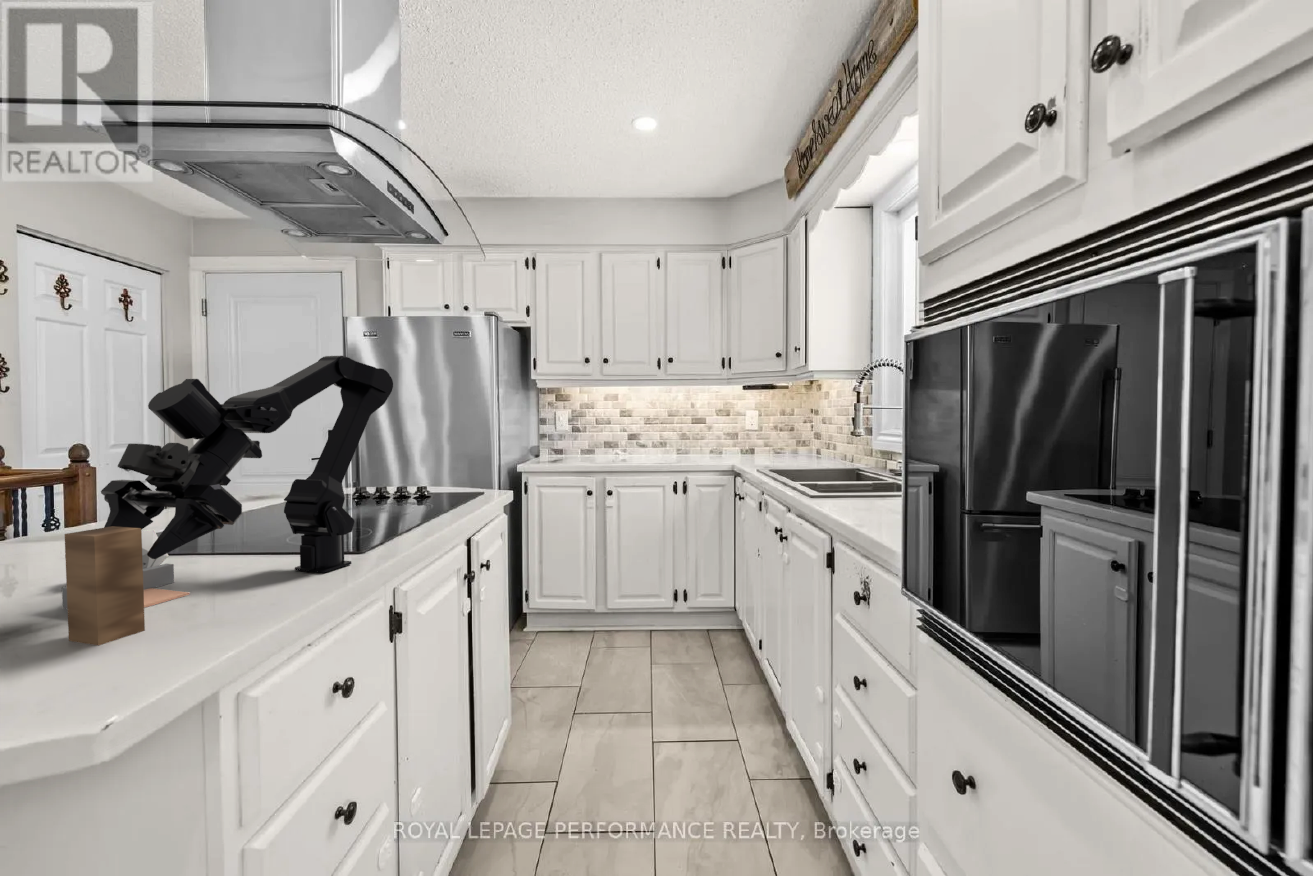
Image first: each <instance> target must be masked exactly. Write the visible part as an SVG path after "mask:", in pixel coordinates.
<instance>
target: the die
mask: <svg viewBox="0 0 1313 876" xmlns="http://www.w3.org/2000/svg"><path fill="white" fill-rule="evenodd" d="M141 532H142V561H143V569H145V568H149V567H154V566H158V565H162V564H163V562H164V561H166V560H167V558H169V554H168V553H167V554H165V555H163V556H161V557H159V558H157V559H151V558H150V557H149V556H147V553H148V552H149V550H150V548H151V547H152V545H153V544H154V543H155V541H156V540H157V539H158V537H159V536H158V535H157V533H156V531H155V529H148V530H147V529H146V530H145V529H142V530H141Z"/></svg>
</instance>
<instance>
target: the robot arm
mask: <svg viewBox="0 0 1313 876" xmlns="http://www.w3.org/2000/svg"><path fill="white" fill-rule="evenodd" d="M333 385H334V386H335V387H337V388H339V389H340V397H341V403H342V407H341V410H340V411H339V414H338V416H337V418H336V421H335V423H334V425H333V427H332V429H331V432H330V434H329V436H328V439H327V440H326V442H325V445H324V447H323V449H322V451H321V454H320V455H319V458H318V459H317V463H316V465H315V467H314V468H313V471H312V473H311V474H310V475H309V476H308V477H306V479H302V478H295V479H294V481H293V482H292V484H291V487H290V490H289V492H288V494H287V495H286V497H285V498H283V501H284V502H285V504H284V507H283V513H284V514H285V517H286V520H287V521H288V524H289V527H290V530H291V532H292V534H293V535H301V536H300V539H301V543H300V545H299V561H300V563H299V565H298V566H295V567H294V571H299V572H300V571H301V572H311V573H322V574H323V573H327V572H331V571H333V570H337V569H340V568H343V567H346V566H349V565H352V561H351V560H345V535H347V534H348V533H353V529H354V526H355V519H354V518H353V517H352V516H351V514H349V513H348V512H347V511H346V510H345V509H344V508H343V507H344V503H345V499H346V497H345V492H344V488H343V482H344V479H345V476H346V474H347V471H348V470H349V466H350V464H351V462H352V460H353V457H354V455H355V453H356V451H357V447H358V445H359V443H360V441H361V439H362V436H363V433H364V431H365V429H366V426H367V424H368V422H369V420H370V418H371V415H372V414H373V413H375V412H376V411H377V410H379V409H380V408H381V407H382V406H384V405H385V403H386V402H387V400H388V399H389V397H390V395H391V394H392V392H393V390H394V389H393V388H394V381H393V378H392V377H391V375H390V373H389V372H388V371H387V370H386V369H384V368H380V367H379V368H378V367H375V366H372V365H369V364H365V363H363V362H360V361H356V360H354V359H353V358H350V357H348V356H346V355H325V356H323V357H321V358H319V359H318V360H317V361H316V362H314V363H312V364H311V365H308V366H307V367H305V368H303V369H302V370H299V371H298V372H296V373H294V374H292V375H290V376H289V377H286V378H284V379H283V380H281V381H280V382H278V383H276V384H273V385H272V386H270V387H268V386H267V387H265V388H262V389H261V388H260V389H257V390H251V391H247V392H244V393H241V394H237V395H235V396H234V395H233V396H232V397H229V398H228V399H227V400H225V401H224V403H222V404H221V403H220V402H219V401H218V400H217V399H216V398H215V396H213V395H212V394H211V393H210V391H208V389H207V388H206V387H205V385H204V383H202V381H201V380H200V379H199V378H185V380H183V381H182V382H181V383H179V384H175V385H173V386H171V387H168V388H167V389H165V390H163V391H161V392H158V393H157V394H155V395H154V396H153V397H152V398H151V399H150V401H149V403H148V405H147V407H148V409H149V410H150V411H151V412H152V413H153V414H154V415H155V416H156V417H158V418H159V420H160V421H162V422H163V423H164V424H165V425H166V426H167V427H168V428H169V429H171V430H172V432H174V433H175V434H176V435H177V436H178V437H179V438H180V439H182V440H191V439H194V440H197V441H196V442H195V444H193V445H192V446H191V448H190V449H189V446H187V445H185V444H183V443H180V442H167V443H166V444H165V445H164V446H161V445H153V444H148V443H128V444H127V446H126V448H125V450H124V452H123V454H122V456H121V458H120V459H119V462H118V464H117V468H119V469H121V470H124V471H125V470H129V471H131V472H132V471H133V472H136V473H137V474H138V473H139V474H142V475H144V476H147V477H146V478H145V481H146V482H147V483H148V484H149V485H151V486H153V487H156V488H155V490H152V489H151V488H150V487H148V485H146V484H145V483H144V482H142V481H141V480H140V479H139V480H134V479H115V480H110V482H108V484H106V485H105V486H104V487H103V488H102V489H101V490H100V494H102V495H103V498H104V499H103V500H104V501H105V502H107V503H108V507H109V514H108V517H107V520H106V522H105V525H104V527H103V528H105V527H111V526H116V527H129V528H141V531H142V530H144V529H145V528H146V527H148V526H150V525H151V524H152V523H154V520H152V519H154V518H156V517H157V516H160V514H162V512H163V511H164V510H165V508H175V511H174V516H173V517H172V518H171V520H170V521H169V523H168V524H167V525H166V526H165V528H164V529H163V531H162V532H161V533H160V534H159V536H158V539H157V540H156V541H155V543H154V544H153V545H152V547H151V548H150V550H149V552H148V553H147V556H149V557H150V558H151V559H157V558H159V557H161V556H163V555H165V554H168V553H170V552H173V551H174V550H176V549H178V548H180V547H182V546H185V545H186V544H189V543H190V542H193V541H194V540H196V539H198V538H200V537H203V536H205V535H207V534H209V533H212V532H214V531H215V530H221V529H223V528H224V527H225V525H228V526H234V524H235V523H236V522H237V521H238V519H239V518H240V517H241V516H242V515H243V504H242V503H241V502H240V501H239V500H237V498H235V496H234V495H232V494H231V493H230V492H229V491H228V490H227V489H225V486H228V485H229V484H230V482H231V481H232V480H231V479H230V478H229V477H228V475H229V474H230V473H231V471H232V470H233V469H234V468H235V467H236V465H238V464H239V462H241V460H242V459H261V458H262V457H263V452H262V451H263V450H262V449H261V448H260V447H261V446H260V443H261V441H259V440H252V439H251V438H250V437H249V436H248V435H247V434H272V433H274V432H276V431H277V430H279V428H281V427H282V426H283V425H284V424H285V423H286V422H287V421H288V420H290V418H291V417H292V414H293V411H294V410H295V409H296V408H297V407H298V406H300V405H301V404H303V403H304V402H306V401H308V400H310V399H311V398H313V397H314V396H316V395H318V394H321V392H322V391H323V392H324V390H326V389H328V388H329V387H331V386H333ZM223 486H224V487H223Z"/></svg>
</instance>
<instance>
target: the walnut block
mask: <svg viewBox="0 0 1313 876" xmlns="http://www.w3.org/2000/svg"><path fill="white" fill-rule="evenodd" d="M141 531H142V530H141V528H129V527H116V526H111V527H105V528H104V527H100V528H94V529H93V528H92V529H86V530H82V531H74V532H70V533H69V532H68V533H64V552H65V553H64V554H65V576H66V577H65V578H66V579H65V581H66V583H65V584H66V587H67V608H68V610H67V629H68V642H72V643H73V642H74V643H81V644H87V645H91V646H92V645H93V646H101V645H104V644H107V643H110V642H113V641H116V640H119V639H122V638H126V637H128V636H132V635H135V634H138V633H139V634H140V633H141V632H145V631H146V625H145V622H146V621H145V608H144V590H143V561H142V532H141Z"/></svg>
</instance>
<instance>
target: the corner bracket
mask: <svg viewBox="0 0 1313 876" xmlns="http://www.w3.org/2000/svg"><path fill="white" fill-rule="evenodd" d="M174 567H175V565H174V564H173V563H161V564H160V565H158V566H154V567H149V568H145V569H143V590H145V589H149V588H153V589H156V588H159V587H163V586H167V585H170V584H174V583H175V570H174V569H175V568H174ZM61 596H62V597H61V598H62V599H61V600H62V603H61V604H62V610H67V611H68V608H67V586H64V587H62V588H61Z"/></svg>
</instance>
